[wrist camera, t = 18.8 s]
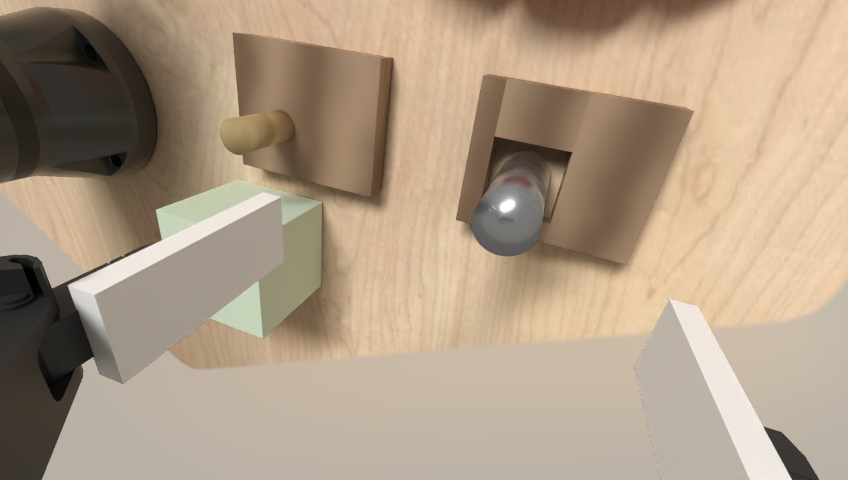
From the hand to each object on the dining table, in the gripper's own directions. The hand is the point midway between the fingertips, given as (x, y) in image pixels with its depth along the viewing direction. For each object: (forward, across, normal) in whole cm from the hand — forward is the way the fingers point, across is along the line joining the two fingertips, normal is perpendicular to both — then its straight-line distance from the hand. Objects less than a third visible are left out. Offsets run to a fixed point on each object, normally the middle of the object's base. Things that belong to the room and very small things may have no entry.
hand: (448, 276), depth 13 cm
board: (+18, -15, 0) cm, 23 cm away
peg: (+17, +2, -1) cm, 17 cm away
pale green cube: (+18, -19, -12) cm, 29 cm away
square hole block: (+17, +4, 0) cm, 17 cm away
